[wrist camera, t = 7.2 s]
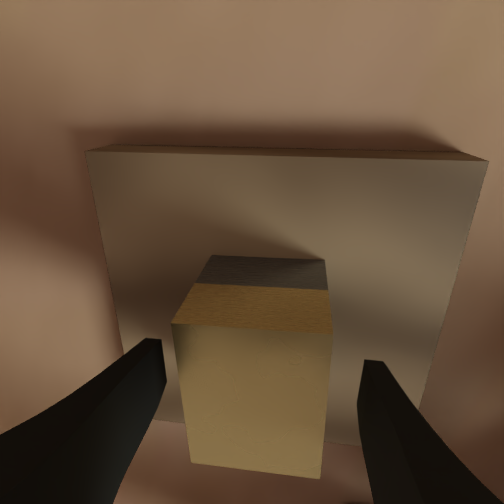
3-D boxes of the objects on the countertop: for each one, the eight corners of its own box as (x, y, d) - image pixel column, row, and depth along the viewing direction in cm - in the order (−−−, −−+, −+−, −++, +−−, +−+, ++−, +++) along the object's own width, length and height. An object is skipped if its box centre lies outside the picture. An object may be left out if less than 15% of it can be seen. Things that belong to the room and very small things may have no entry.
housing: (324, 259, 13) (333, 334, 9) (316, 377, 16) (320, 479, 12) (211, 255, 14) (170, 323, 10) (220, 369, 16) (191, 462, 12)
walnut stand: (396, 417, 19) (406, 452, 17) (151, 388, 20) (136, 416, 19) (463, 152, 13) (489, 161, 11) (112, 144, 15) (84, 151, 13)
